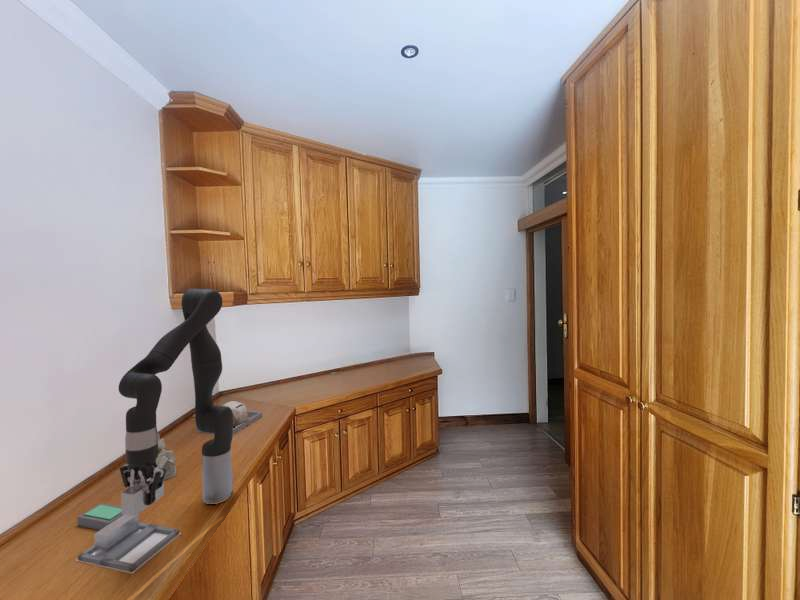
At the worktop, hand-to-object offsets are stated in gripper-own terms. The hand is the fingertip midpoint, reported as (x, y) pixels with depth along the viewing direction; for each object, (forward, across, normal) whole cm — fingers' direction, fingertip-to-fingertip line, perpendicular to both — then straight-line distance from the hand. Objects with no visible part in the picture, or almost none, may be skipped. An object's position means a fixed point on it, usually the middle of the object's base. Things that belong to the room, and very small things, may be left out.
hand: (143, 502), depth 106 cm
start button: (+12, +23, -7) cm, 27 cm away
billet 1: (+14, +9, 0) cm, 17 cm away
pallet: (+15, +5, 0) cm, 16 cm away
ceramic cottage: (+15, +35, -35) cm, 52 cm away
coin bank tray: (+15, +39, -88) cm, 97 cm away
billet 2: (+1, 0, 0) cm, 1 cm away
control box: (+15, +23, -7) cm, 28 cm away
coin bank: (+15, +39, -87) cm, 97 cm away
